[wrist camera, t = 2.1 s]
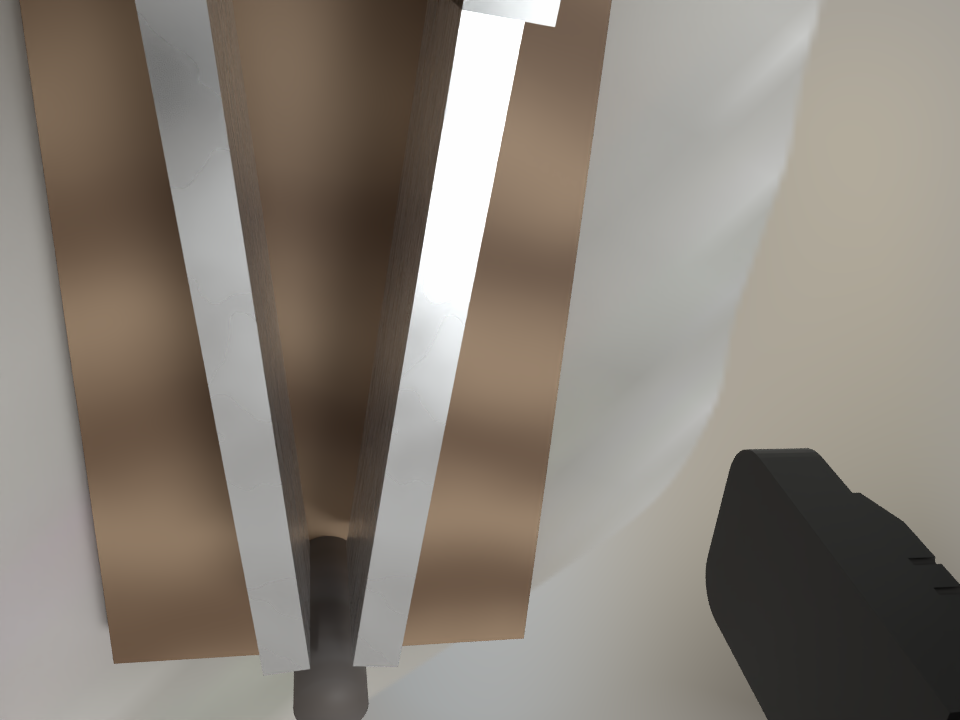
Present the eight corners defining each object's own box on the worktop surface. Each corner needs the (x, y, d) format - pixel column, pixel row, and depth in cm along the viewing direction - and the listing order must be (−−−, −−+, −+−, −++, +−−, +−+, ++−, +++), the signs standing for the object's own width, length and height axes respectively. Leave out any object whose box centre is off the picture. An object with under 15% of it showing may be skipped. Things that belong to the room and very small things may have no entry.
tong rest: (515, 609, 34) (563, 783, 28) (121, 630, 32) (73, 828, 25) (647, -408, 20) (805, -536, 14) (-32, -513, 18) (-227, -730, 11)
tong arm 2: (309, 545, 28) (310, 669, 24) (250, 553, 28) (239, 678, 24) (204, -191, 19) (173, -208, 15) (114, -190, 19) (55, -207, 14)
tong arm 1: (403, 546, 29) (420, 667, 24) (346, 544, 28) (352, 666, 24) (532, -148, 20) (593, -152, 16) (452, -166, 20) (492, -176, 16)
